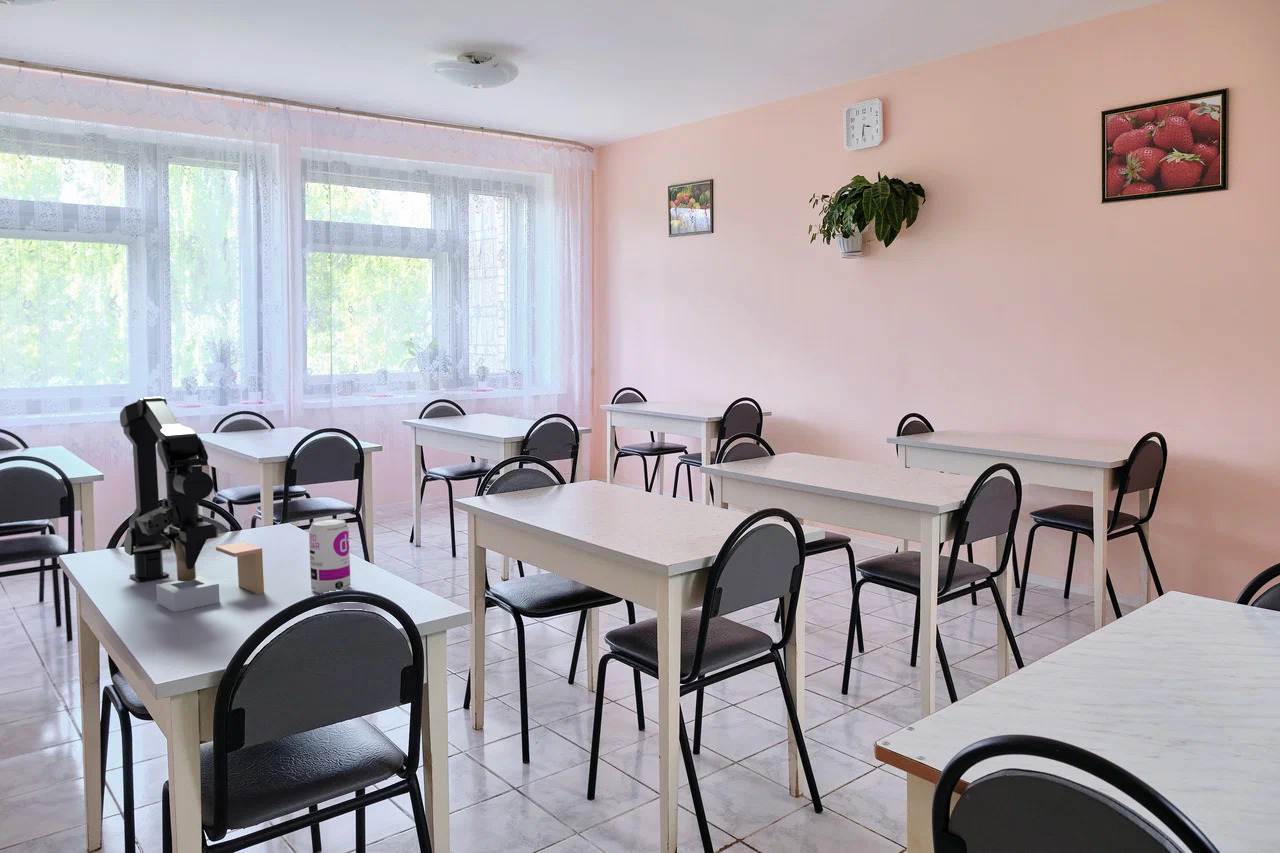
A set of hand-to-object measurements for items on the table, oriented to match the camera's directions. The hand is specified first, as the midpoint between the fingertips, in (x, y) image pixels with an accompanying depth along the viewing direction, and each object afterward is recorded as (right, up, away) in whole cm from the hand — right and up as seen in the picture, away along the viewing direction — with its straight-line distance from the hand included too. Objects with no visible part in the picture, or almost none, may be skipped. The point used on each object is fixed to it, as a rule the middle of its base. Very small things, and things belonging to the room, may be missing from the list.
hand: (186, 567), depth 188 cm
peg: (0, -3, 0) cm, 3 cm away
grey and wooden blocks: (+3, -7, +4) cm, 9 cm away
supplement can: (+27, -7, +11) cm, 29 cm away
